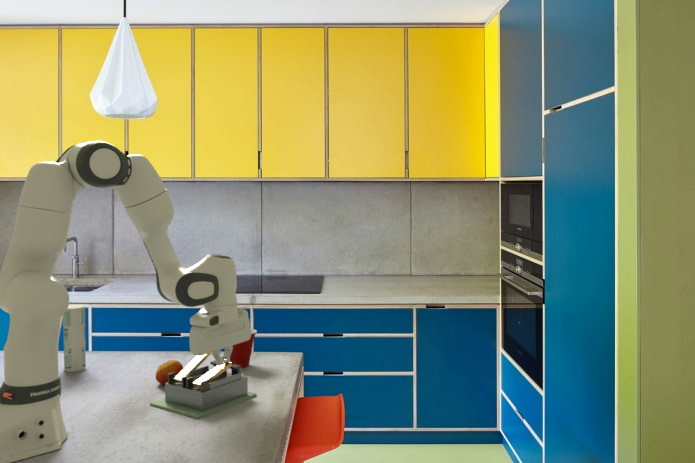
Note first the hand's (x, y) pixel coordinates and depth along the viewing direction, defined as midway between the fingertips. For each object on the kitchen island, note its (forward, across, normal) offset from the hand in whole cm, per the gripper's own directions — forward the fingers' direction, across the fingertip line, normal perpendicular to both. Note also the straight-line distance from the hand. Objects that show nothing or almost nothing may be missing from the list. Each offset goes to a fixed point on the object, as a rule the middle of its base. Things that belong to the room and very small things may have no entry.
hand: (222, 363), depth 175 cm
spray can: (+10, +5, -60) cm, 61 cm away
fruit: (+10, -2, -24) cm, 26 cm away
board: (+10, +3, -4) cm, 11 cm away
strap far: (+1, +4, -7) cm, 8 cm away
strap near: (+2, +4, 0) cm, 4 cm away
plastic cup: (+11, -28, -20) cm, 36 cm away
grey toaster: (+10, +3, -4) cm, 11 cm away
